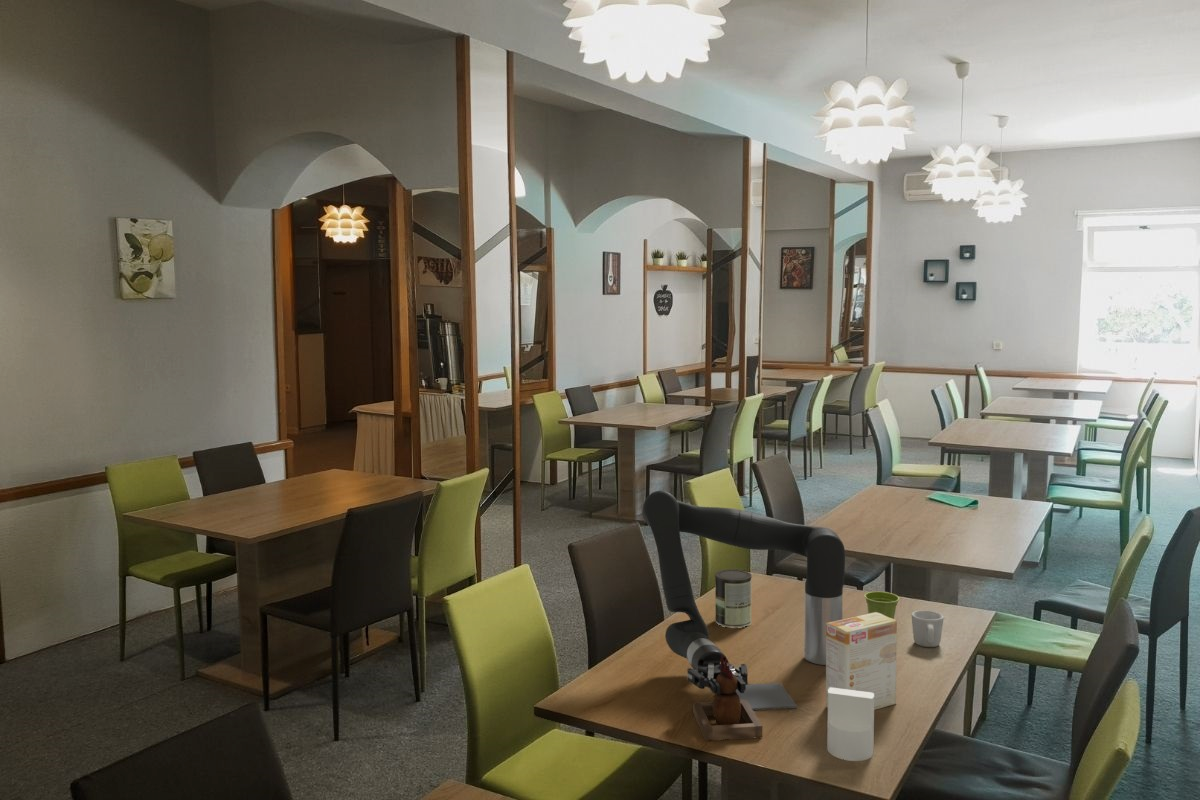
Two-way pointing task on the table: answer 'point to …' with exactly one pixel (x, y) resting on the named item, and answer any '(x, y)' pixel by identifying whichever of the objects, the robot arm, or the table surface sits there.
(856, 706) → the base with upright slab
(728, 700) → the wooden figurine
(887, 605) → the plant pot
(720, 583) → the coffee can
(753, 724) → the square wooden frame
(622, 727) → the table surface
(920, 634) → the cup
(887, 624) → the coffeecake box
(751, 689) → the mat
